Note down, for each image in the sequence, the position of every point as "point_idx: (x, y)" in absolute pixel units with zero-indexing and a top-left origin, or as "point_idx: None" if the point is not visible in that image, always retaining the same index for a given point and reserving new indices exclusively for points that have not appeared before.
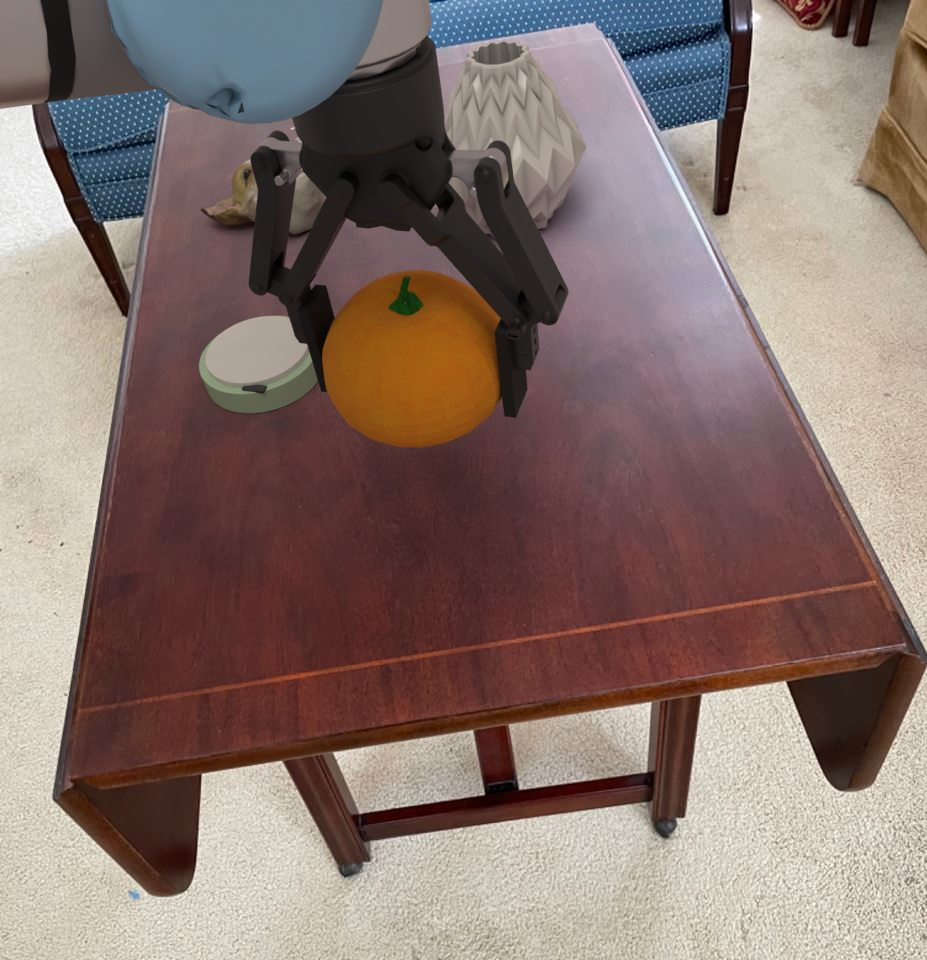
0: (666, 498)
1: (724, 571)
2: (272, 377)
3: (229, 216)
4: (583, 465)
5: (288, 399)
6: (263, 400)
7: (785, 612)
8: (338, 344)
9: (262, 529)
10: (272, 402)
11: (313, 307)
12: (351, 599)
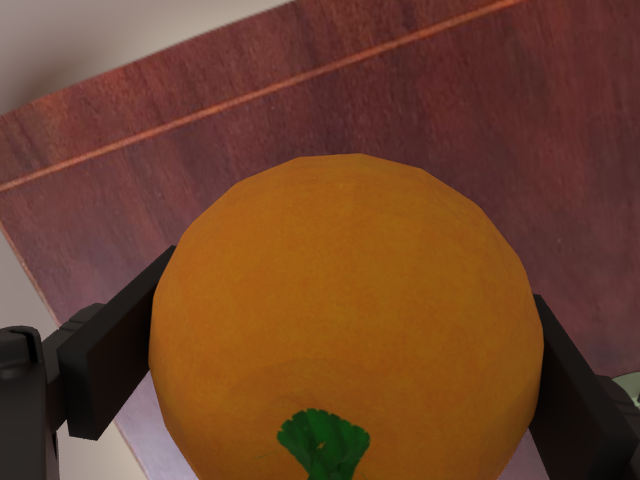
0: None
1: (103, 194)
2: None
3: None
4: None
5: None
6: (637, 385)
7: (43, 153)
8: (492, 329)
9: (602, 204)
10: (624, 383)
11: (590, 451)
12: (470, 116)
